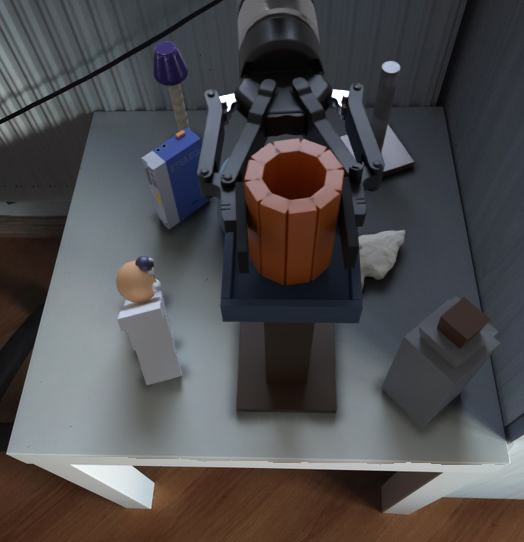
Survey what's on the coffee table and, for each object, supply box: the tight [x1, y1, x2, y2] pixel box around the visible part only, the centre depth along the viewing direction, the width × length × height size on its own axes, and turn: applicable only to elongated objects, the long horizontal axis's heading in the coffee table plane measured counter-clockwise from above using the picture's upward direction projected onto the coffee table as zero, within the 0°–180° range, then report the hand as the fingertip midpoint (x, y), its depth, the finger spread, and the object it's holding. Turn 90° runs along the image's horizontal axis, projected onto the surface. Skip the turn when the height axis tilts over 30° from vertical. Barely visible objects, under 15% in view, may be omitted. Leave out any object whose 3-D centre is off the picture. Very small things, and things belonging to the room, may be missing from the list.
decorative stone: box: [358, 229, 406, 291], centre depth 76 cm, size 8×12×3 cm
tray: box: [219, 219, 364, 414], centre depth 59 cm, size 12×12×25 cm
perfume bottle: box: [381, 295, 501, 428], centre depth 60 cm, size 7×7×18 cm
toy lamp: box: [153, 40, 198, 136], centre depth 79 cm, size 5×5×17 cm
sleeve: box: [244, 137, 344, 285], centre depth 44 cm, size 7×7×9 cm
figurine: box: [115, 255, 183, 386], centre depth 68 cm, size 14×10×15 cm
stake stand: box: [339, 60, 415, 178], centre depth 78 cm, size 9×9×15 cm
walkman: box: [141, 127, 211, 230], centre depth 76 cm, size 8×3×12 cm, turn 133°
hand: (297, 260), depth 41 cm, fingers closed on sleeve, 7 cm apart
